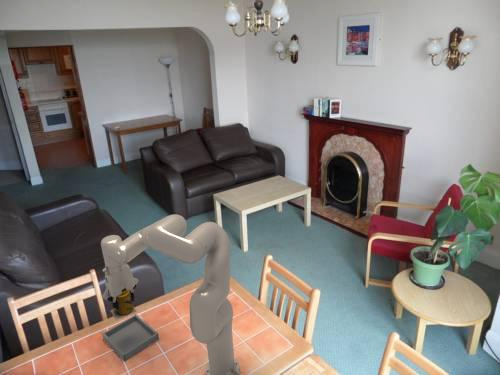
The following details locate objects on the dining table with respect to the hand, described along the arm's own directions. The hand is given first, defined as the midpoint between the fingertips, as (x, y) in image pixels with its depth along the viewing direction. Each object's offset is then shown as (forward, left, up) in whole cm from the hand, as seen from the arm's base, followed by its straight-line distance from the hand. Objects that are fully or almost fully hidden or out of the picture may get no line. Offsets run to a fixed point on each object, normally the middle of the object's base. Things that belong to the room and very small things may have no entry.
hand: (123, 303), depth 150 cm
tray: (0, 0, -18) cm, 18 cm away
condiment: (0, +1, -3) cm, 4 cm away
